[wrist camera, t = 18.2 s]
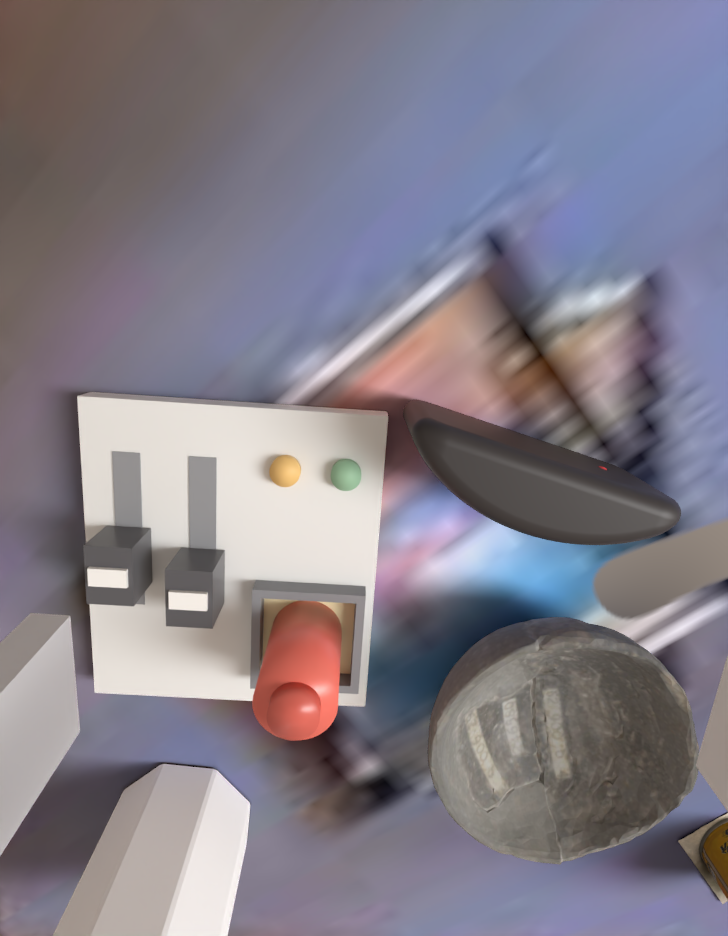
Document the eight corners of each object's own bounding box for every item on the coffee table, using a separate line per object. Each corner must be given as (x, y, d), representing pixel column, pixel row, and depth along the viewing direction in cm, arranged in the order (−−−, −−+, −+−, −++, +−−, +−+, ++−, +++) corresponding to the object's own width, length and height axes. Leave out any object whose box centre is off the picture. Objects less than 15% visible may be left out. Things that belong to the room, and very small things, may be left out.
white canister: (98, 777, 48) (-58, 1058, 30) (228, 746, 47) (149, 1014, 29) (146, 880, 50) (30, 1193, 33) (270, 852, 50) (221, 1156, 32)
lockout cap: (273, 597, 41) (250, 676, 32) (344, 602, 41) (340, 682, 33) (270, 659, 43) (247, 752, 34) (339, 664, 43) (334, 757, 34)
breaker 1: (106, 525, 40) (80, 547, 36) (151, 528, 40) (130, 550, 36) (109, 579, 41) (84, 606, 37) (152, 581, 41) (132, 608, 37)
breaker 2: (180, 547, 40) (163, 571, 37) (224, 550, 40) (211, 574, 37) (181, 600, 41) (164, 628, 38) (224, 602, 41) (211, 631, 38)
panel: (90, 391, 39) (65, 399, 36) (386, 411, 40) (389, 420, 37) (106, 676, 45) (85, 705, 42) (364, 689, 46) (365, 720, 42)
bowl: (392, 615, 44) (400, 680, 36) (624, 556, 43) (682, 609, 35) (448, 802, 49) (466, 895, 41) (659, 753, 48) (717, 838, 40)
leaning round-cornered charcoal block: (384, 454, 41) (392, 495, 32) (406, 392, 40) (421, 416, 31) (596, 523, 42) (661, 581, 33) (623, 465, 41) (698, 509, 32)
